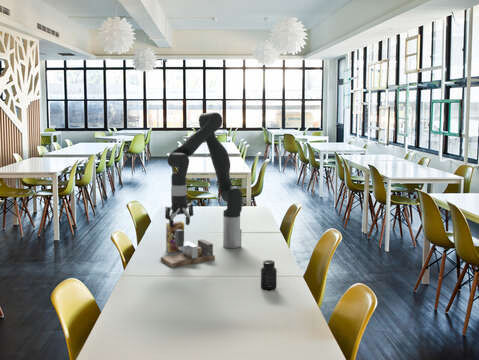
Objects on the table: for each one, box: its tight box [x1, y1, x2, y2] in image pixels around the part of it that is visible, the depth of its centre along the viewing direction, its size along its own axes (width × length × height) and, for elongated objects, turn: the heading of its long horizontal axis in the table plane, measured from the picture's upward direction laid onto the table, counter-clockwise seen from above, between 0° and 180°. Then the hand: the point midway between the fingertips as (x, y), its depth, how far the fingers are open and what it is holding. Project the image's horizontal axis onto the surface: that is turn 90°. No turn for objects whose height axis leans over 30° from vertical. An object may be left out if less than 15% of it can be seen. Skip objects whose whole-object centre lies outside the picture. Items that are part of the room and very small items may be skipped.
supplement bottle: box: [260, 259, 278, 292], centre depth 222 cm, size 7×7×12 cm
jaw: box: [175, 229, 198, 259], centre depth 257 cm, size 9×10×14 cm
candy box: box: [165, 221, 185, 253], centre depth 274 cm, size 9×4×15 cm, turn 123°
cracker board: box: [160, 239, 216, 268], centre depth 259 cm, size 24×12×8 cm, turn 124°
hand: (179, 226), depth 254 cm, fingers open, 8 cm apart
